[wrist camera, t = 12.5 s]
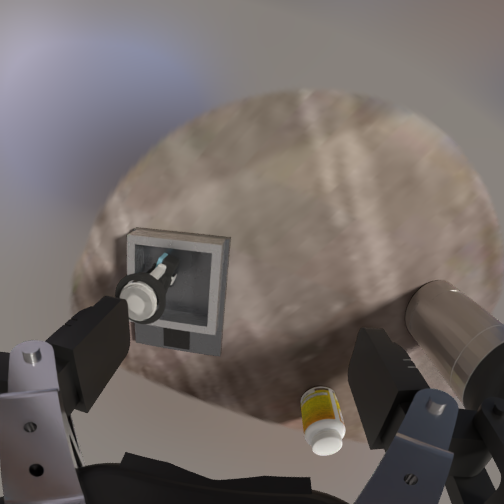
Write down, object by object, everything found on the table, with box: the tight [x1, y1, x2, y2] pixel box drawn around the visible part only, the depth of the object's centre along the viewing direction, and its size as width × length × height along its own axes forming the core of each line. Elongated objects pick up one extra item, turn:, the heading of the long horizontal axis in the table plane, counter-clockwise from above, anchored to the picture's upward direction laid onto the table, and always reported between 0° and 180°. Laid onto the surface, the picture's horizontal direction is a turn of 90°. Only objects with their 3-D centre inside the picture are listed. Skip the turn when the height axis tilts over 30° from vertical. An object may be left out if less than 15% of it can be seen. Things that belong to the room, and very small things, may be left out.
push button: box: [115, 253, 180, 324], centre depth 34 cm, size 7×5×10 cm
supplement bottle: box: [300, 386, 345, 456], centre depth 39 cm, size 6×6×10 cm
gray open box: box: [127, 227, 231, 356], centre depth 39 cm, size 12×16×4 cm
